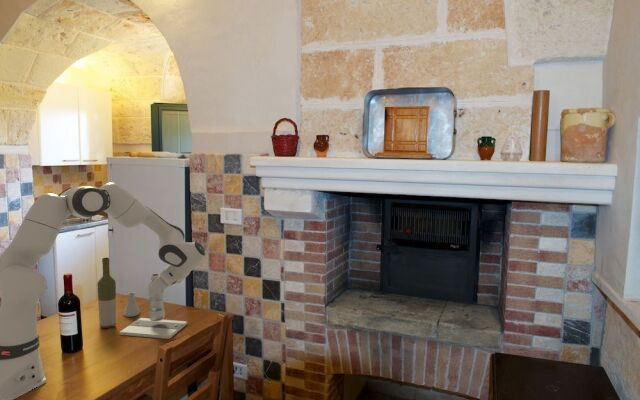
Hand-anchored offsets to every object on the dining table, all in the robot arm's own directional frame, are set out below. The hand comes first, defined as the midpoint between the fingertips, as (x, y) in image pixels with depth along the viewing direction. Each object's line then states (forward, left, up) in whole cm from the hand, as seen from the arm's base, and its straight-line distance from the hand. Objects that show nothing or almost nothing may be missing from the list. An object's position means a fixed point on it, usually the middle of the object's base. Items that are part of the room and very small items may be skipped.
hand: (154, 293), depth 191 cm
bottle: (-3, +20, -15) cm, 26 cm away
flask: (+12, +18, -15) cm, 27 cm away
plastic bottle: (0, -1, -12) cm, 12 cm away
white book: (-2, -1, -15) cm, 15 cm away
